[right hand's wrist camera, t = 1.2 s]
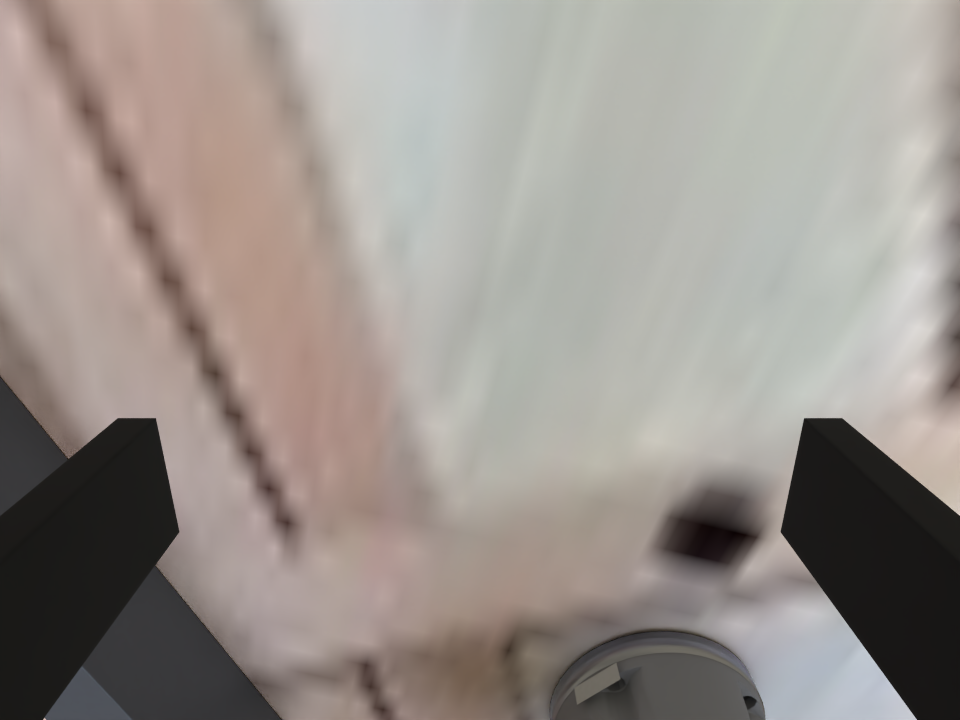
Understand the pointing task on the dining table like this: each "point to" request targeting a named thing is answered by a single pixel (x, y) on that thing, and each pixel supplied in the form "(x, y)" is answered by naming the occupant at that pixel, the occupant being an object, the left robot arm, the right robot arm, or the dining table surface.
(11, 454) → the bar
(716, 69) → the dining table surface
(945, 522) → the right robot arm
